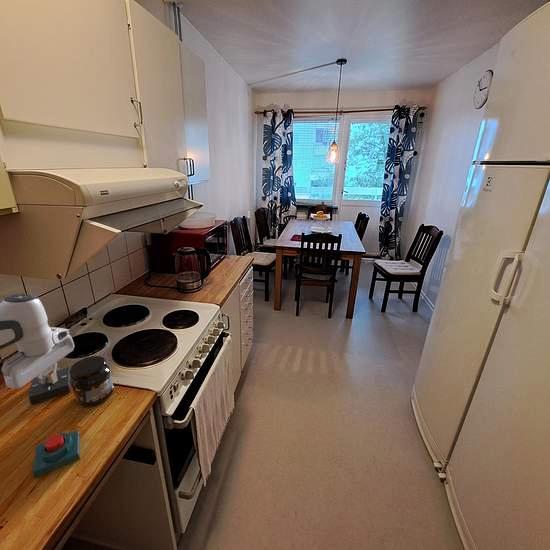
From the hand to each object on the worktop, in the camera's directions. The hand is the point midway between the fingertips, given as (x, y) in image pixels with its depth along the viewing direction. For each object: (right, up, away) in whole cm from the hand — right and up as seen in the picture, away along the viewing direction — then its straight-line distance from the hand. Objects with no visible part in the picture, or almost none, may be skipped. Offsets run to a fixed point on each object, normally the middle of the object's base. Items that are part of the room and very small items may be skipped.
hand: (48, 378), depth 93 cm
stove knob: (0, -1, 0) cm, 1 cm away
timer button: (+18, -9, -21) cm, 29 cm away
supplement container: (+16, -5, -1) cm, 17 cm away
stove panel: (0, -4, +1) cm, 4 cm away
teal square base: (+18, -12, -20) cm, 30 cm away
